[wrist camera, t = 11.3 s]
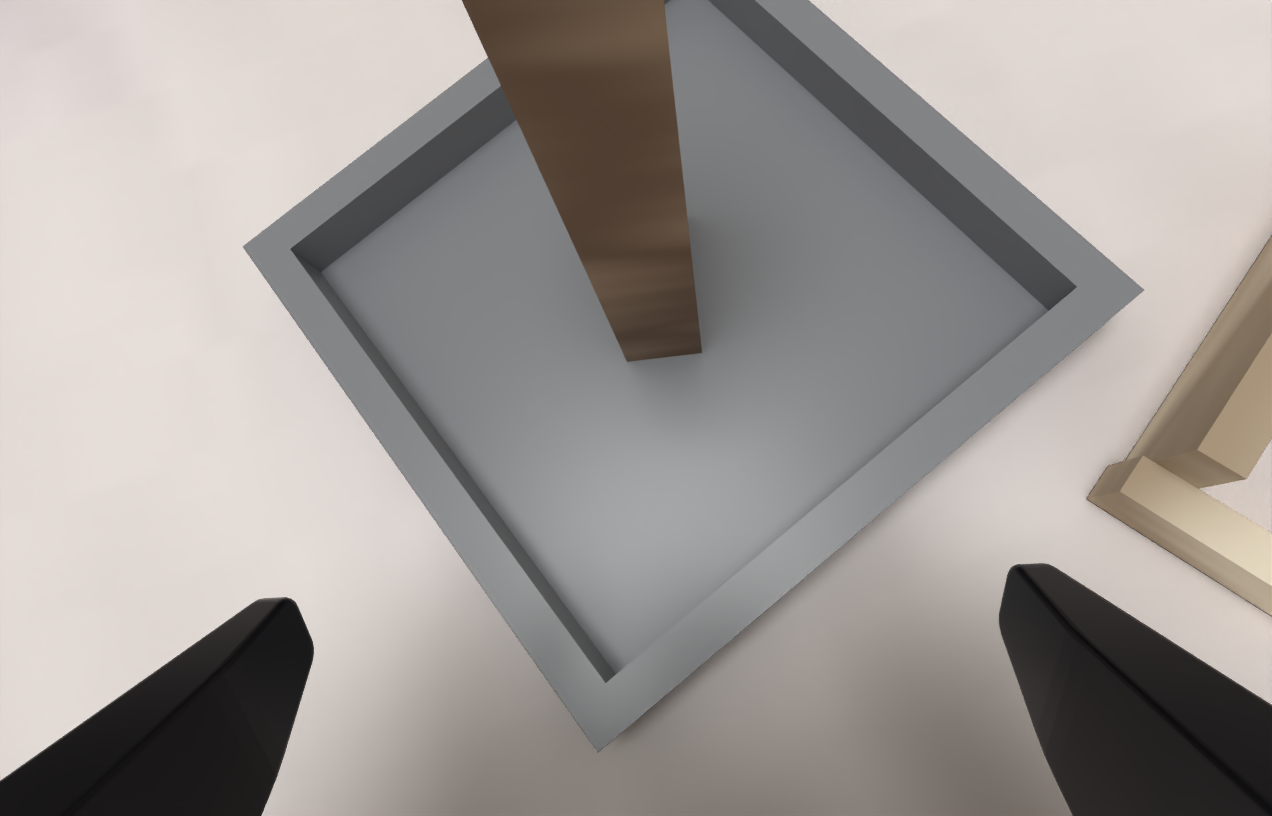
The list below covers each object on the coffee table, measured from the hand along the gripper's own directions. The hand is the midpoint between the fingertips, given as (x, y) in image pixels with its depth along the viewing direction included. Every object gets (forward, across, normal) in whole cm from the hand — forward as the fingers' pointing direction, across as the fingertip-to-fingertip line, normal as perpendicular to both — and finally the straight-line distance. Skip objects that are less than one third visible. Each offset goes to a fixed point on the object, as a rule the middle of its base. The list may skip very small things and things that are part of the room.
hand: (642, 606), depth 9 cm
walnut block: (+12, 0, 0) cm, 12 cm away
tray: (+12, 0, 0) cm, 12 cm away
